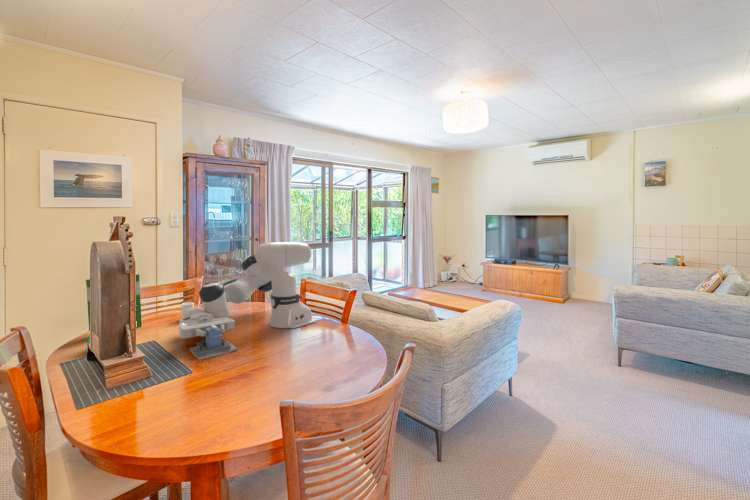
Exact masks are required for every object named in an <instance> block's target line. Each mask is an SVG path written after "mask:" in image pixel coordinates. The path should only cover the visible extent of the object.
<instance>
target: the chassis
mask: <svg viewBox="0 0 750 500" xmlns="http://www.w3.org/2000/svg"><path fill="white" fill-rule="evenodd" d="M238 350H239V349H238V347H236V346H234V344H232V343H231V342H230V341H228V340H227V339H226V340H224V339H223V338H221V346H218V347H214V348H209V349H208V348H207V347H206V340H204V341H199V342H196V346H192V347H189V352H191V354H193V355H194V356H195V357H196V359H198V360H200V361H201V360H204V359H208V358H212V357H216V356H221V355H226V354H229V353H234V352H237V351H238Z"/></svg>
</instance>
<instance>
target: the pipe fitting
mask: <svg viewBox="0 0 750 500" xmlns="http://www.w3.org/2000/svg"><path fill="white" fill-rule="evenodd" d="M181 307H182V309H181V310H179V311H180V312H179V313H180V314H184V312H185V311H186V310H187V309H188V308H191V307H195V302H192V301H190V302H189V301H187V302H183V303H182V304H181Z"/></svg>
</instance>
